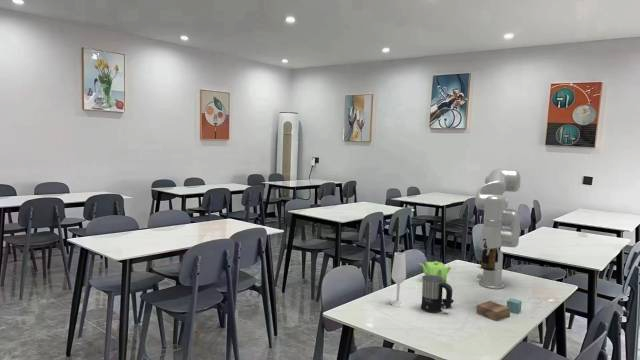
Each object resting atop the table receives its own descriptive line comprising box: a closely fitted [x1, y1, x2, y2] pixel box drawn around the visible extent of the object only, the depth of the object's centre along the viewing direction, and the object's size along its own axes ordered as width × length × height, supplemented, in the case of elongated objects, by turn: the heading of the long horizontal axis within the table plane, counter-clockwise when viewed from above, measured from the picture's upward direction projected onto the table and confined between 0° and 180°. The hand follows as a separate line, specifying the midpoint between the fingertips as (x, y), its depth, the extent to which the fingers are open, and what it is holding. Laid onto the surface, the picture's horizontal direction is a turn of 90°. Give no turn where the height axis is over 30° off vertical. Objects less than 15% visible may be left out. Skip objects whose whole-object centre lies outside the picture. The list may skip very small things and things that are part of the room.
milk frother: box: [420, 274, 455, 314], centre depth 203 cm, size 14×16×15 cm
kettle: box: [418, 261, 452, 283], centre depth 243 cm, size 15×14×11 cm
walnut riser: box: [476, 300, 511, 322], centre depth 197 cm, size 10×10×4 cm
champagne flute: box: [390, 251, 407, 307], centre depth 206 cm, size 7×7×24 cm
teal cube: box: [506, 297, 523, 315], centre depth 203 cm, size 5×5×5 cm
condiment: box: [477, 247, 501, 271], centre depth 201 cm, size 7×8×12 cm
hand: (489, 262), depth 202 cm, fingers closed on condiment, 6 cm apart
